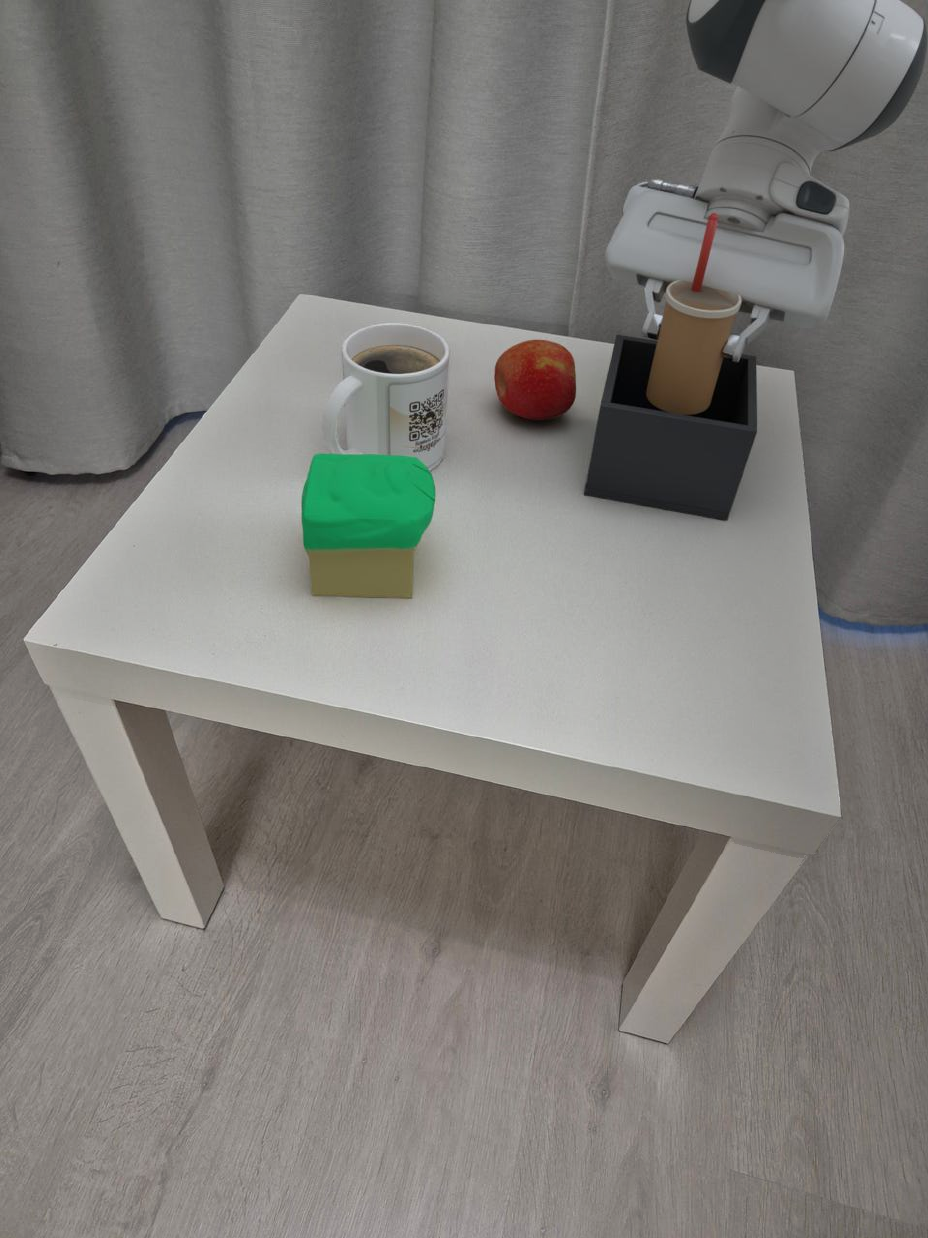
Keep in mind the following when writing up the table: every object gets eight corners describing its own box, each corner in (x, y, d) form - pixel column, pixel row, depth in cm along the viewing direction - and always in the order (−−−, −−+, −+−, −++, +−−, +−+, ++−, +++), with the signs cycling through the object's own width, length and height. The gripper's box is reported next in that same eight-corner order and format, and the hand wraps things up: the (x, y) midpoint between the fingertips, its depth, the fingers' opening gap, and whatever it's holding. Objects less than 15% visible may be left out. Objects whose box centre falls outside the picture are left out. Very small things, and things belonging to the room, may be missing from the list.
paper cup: (726, 405, 82) (780, 225, 70) (675, 423, 79) (722, 239, 67) (680, 373, 85) (724, 197, 74) (629, 389, 83) (666, 209, 71)
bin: (727, 520, 82) (757, 431, 75) (583, 495, 84) (600, 405, 77) (729, 441, 92) (756, 356, 85) (600, 419, 93) (616, 334, 86)
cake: (432, 605, 72) (435, 509, 65) (302, 601, 72) (291, 504, 65) (433, 529, 79) (436, 435, 72) (314, 525, 79) (306, 430, 72)
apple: (572, 437, 91) (583, 367, 85) (491, 432, 91) (497, 362, 85) (567, 396, 96) (578, 328, 91) (491, 392, 96) (497, 323, 90)
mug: (452, 480, 84) (458, 377, 77) (327, 487, 83) (319, 382, 75) (438, 420, 92) (441, 320, 84) (322, 425, 90) (314, 323, 82)
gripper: (632, 154, 77) (575, 303, 78) (869, 204, 71) (806, 365, 72) (638, 192, 83) (586, 330, 84) (858, 241, 77) (800, 389, 78)
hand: (689, 347), depth 78 cm, fingers closed on paper cup, 6 cm apart
